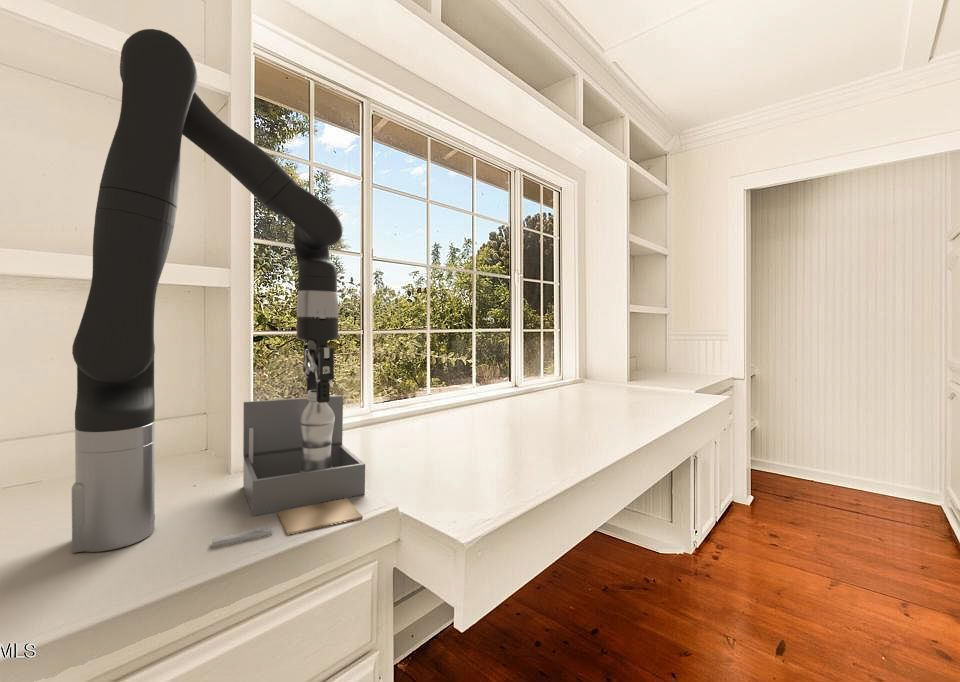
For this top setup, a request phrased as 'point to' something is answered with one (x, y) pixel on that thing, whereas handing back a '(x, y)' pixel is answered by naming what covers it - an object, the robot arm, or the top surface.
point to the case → (292, 459)
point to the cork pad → (318, 516)
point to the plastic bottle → (316, 434)
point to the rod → (241, 537)
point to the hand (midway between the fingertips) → (317, 398)
